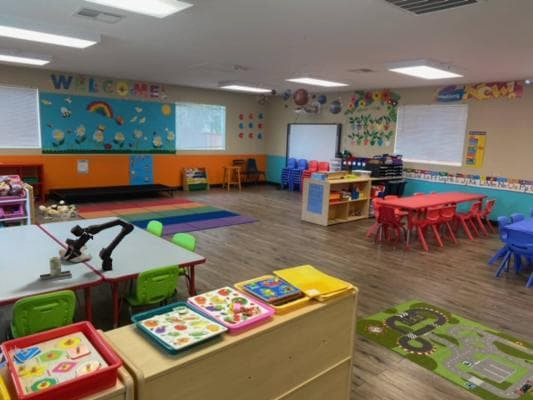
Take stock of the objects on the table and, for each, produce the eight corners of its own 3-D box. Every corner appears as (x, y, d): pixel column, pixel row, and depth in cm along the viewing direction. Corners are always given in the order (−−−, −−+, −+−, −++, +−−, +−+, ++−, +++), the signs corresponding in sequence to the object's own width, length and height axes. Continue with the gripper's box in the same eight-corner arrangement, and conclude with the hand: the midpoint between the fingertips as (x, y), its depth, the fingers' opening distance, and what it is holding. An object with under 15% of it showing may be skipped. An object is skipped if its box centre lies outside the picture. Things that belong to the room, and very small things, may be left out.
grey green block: (60, 274, 268) (59, 257, 266) (61, 276, 265) (60, 258, 263) (50, 276, 265) (49, 258, 263) (51, 278, 262) (50, 260, 260)
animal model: (76, 234, 312) (56, 239, 299) (94, 252, 301) (74, 258, 288) (74, 247, 317) (55, 253, 305) (92, 265, 306) (72, 272, 294)
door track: (69, 273, 275) (69, 269, 274) (72, 277, 267) (71, 274, 266) (39, 277, 264) (39, 274, 264) (41, 282, 256) (41, 279, 256)
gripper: (70, 230, 274) (53, 248, 270) (75, 237, 259) (57, 256, 255) (82, 240, 280) (66, 257, 276) (88, 247, 266) (71, 265, 261)
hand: (65, 258), depth 267 cm, fingers open, 9 cm apart
